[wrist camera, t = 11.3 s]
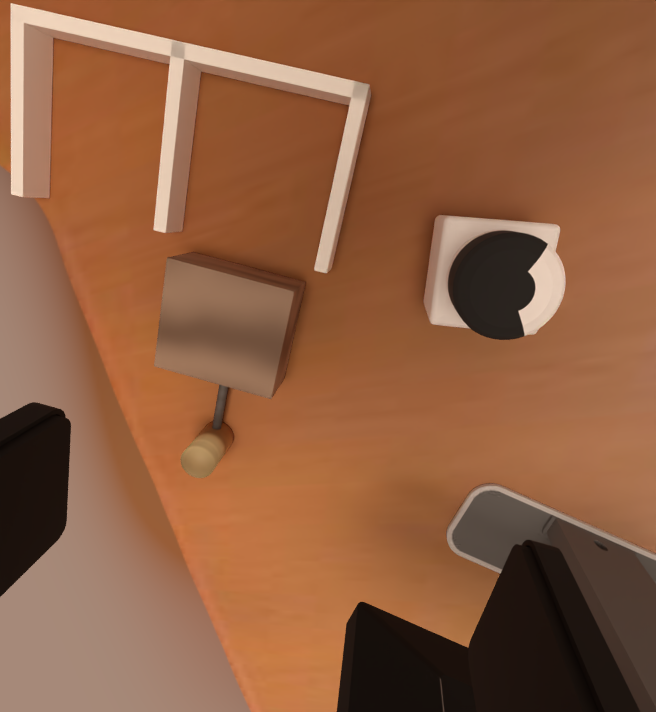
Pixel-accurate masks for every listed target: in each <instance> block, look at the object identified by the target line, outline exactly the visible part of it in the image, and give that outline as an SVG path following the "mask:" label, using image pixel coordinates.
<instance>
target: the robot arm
mask: <svg viewBox="0 0 656 712" xmlns="http://www.w3.org/2000/svg"><path fill="white" fill-rule="evenodd" d="M70 433H71V423H70V421H69V419H67V418H65V414H64V411H62V410H61V409H57V408H54V407H50V406H47V405H43V404H40V403H30V404H27V405H25V406H23V407H22V408H20V409H18V410H16V411H14V412H12V413H10V414H8V415H7V416H5V417H3V418H1V419H0V596H2V595H3V594H4V593H5V592H6V591H7V590H8V589H9V587H10V586H12V585H13V584H14V583H15V582H16V581H17V580H18V579H19V578H20V576H22V575H23V574H24V573H25V572H26V571H27V570H28V569H29V568H30V567H31V566H32V565H33V564H34V563H35V562H36V561H37V560H38V559H39V558H40V557H41V556H42V555H43V554H44V553H45V552H46V551H47V550H48V549H49V548H50V547H51V546H52V545H53V544H54V543H55V542H56V541H57V540H58V539H59V538H60V536H61V535H62V533H63V531H64V529H65V526H66V521H67V498H68V477H69V455H70ZM468 663H469V669H470V675H471V681H472V687H473V693H474V699H475V705H476V711H477V712H640V710H639V708H638V706H637V704H636V702H635V700H634V698H633V696H632V694H631V692H630V690H629V688H628V686H627V683H626V681H625V679H624V677H623V675H622V673H621V671H620V669H619V667H618V665H617V663H616V661H615V659H614V657H613V655H612V653H611V651H610V649H609V647H608V645H607V643H606V641H605V639H604V637H603V635H602V633H601V631H600V629H599V627H598V625H597V623H596V621H595V619H594V617H593V615H592V613H591V611H590V609H589V607H588V604H587V602H586V600H585V598H584V596H583V594H582V592H581V590H580V588H579V586H578V584H577V582H576V580H575V578H574V576H573V574H572V572H571V570H570V568H569V566H568V564H567V562H566V560H565V558H564V556H563V554H562V552H561V551H560V549H559V548H557V547H554V546H551V545H547V544H543V543H540V542H536V541H533V540H525V541H524V542H523V544H522V545H519V544H515V545H514V546H513V548H512V549H511V551H510V554H509V556H508V558H507V560H506V562H505V565H504V567H503V569H502V571H501V574H500V576H499V578H498V580H497V583H496V585H495V587H494V589H493V591H492V594H491V596H490V598H489V600H488V603H487V605H486V607H485V609H484V611H483V614H482V616H481V618H480V620H479V623H478V625H477V627H476V629H475V631H474V634H473V636H472V638H471V641H470V644H469V650H468Z"/></svg>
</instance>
